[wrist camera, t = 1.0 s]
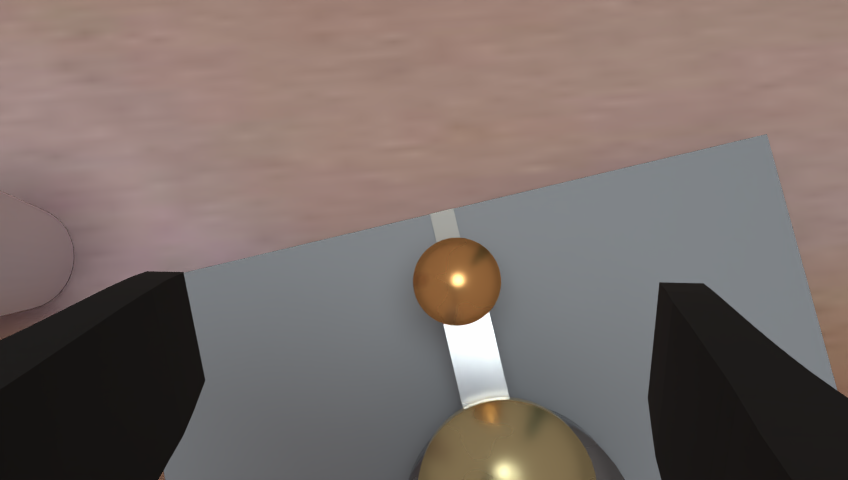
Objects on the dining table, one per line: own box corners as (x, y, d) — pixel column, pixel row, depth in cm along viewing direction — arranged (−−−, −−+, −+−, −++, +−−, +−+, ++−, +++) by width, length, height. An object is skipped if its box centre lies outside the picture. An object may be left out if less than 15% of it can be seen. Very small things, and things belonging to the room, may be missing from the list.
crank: (647, 599, 25) (686, 665, 20) (431, 646, 25) (423, 721, 20) (554, 224, 26) (572, 209, 21) (347, 272, 26) (322, 268, 21)
